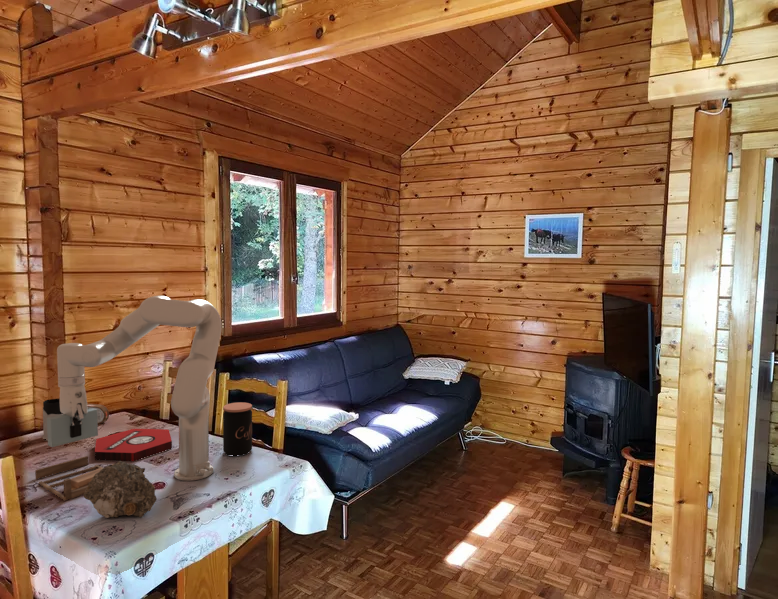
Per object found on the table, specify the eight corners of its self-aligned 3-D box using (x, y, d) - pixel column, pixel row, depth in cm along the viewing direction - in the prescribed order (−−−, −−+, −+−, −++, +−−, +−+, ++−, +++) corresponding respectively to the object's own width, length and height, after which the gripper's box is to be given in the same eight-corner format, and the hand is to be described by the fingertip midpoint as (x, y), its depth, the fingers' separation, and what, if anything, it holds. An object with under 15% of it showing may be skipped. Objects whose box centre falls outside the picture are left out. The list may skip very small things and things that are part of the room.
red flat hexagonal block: (74, 460, 184) (155, 462, 184) (74, 451, 184) (155, 453, 183) (115, 436, 211) (186, 438, 210) (115, 428, 211) (186, 429, 210)
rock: (100, 465, 137) (132, 437, 152) (72, 497, 141) (107, 467, 155) (152, 508, 139) (180, 476, 153) (124, 539, 143) (153, 505, 157)
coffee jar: (236, 459, 187) (236, 411, 186) (217, 453, 193) (217, 406, 192) (258, 450, 196) (258, 405, 195) (238, 445, 202) (238, 400, 201)
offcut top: (108, 477, 166) (108, 470, 166) (78, 489, 157) (78, 482, 157) (99, 474, 168) (99, 468, 168) (69, 486, 159) (69, 479, 159)
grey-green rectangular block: (97, 435, 173) (97, 409, 172) (51, 447, 161) (50, 419, 161) (93, 433, 175) (93, 408, 174) (47, 445, 163) (46, 417, 163)
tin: (109, 422, 227) (109, 404, 227) (104, 425, 224) (104, 406, 224) (79, 421, 229) (78, 402, 229) (74, 423, 226) (73, 404, 226)
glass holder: (43, 435, 210) (42, 399, 209) (83, 430, 217) (82, 395, 216) (40, 441, 202) (39, 404, 201) (82, 436, 209) (81, 400, 208)
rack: (124, 481, 167) (124, 463, 167) (64, 500, 152) (63, 481, 152) (90, 463, 181) (89, 446, 181) (32, 479, 167) (31, 462, 166)
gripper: (95, 382, 165) (97, 437, 166) (73, 375, 174) (74, 427, 176) (70, 386, 159) (72, 443, 160) (48, 379, 168) (50, 433, 170)
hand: (73, 434), depth 168 cm, fingers closed on grey-green rectangular block, 3 cm apart
